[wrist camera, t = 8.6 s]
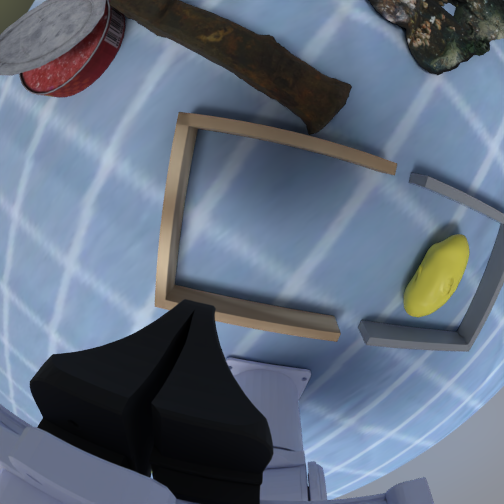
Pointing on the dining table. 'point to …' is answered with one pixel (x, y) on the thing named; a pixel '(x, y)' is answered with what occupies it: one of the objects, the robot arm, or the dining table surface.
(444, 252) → the lemon
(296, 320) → the oak frame
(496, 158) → the dining table surface
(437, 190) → the grey frame
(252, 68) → the hand tool
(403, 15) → the decorative rock
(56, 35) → the canned food
